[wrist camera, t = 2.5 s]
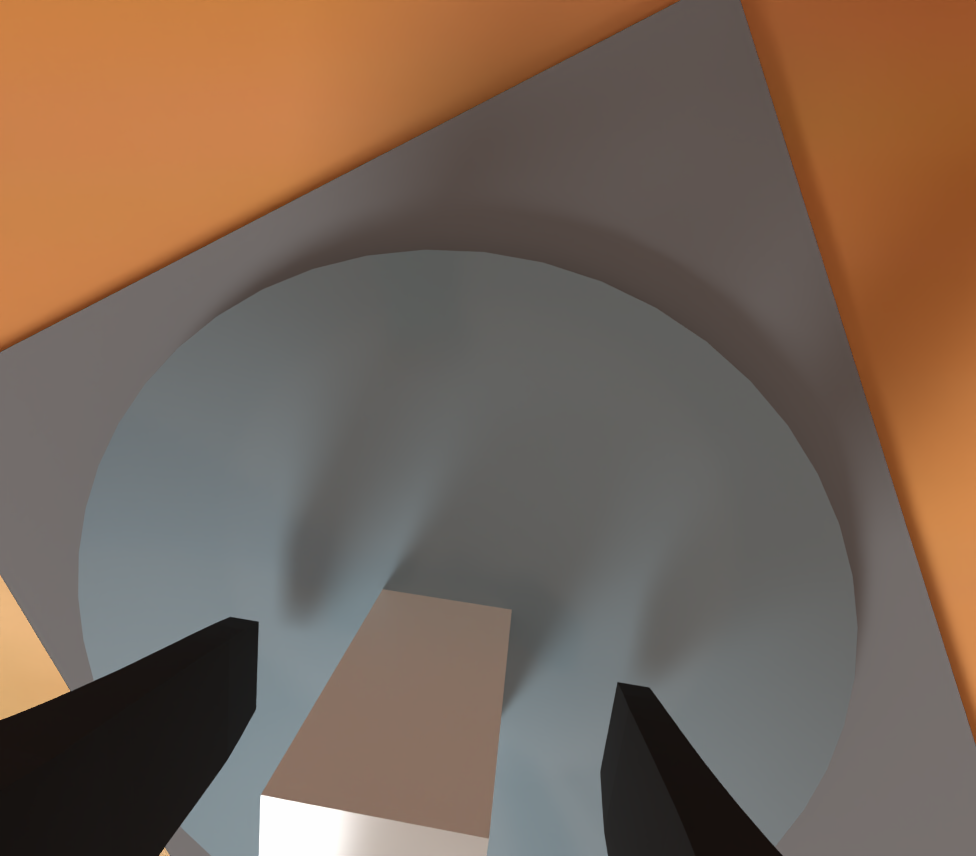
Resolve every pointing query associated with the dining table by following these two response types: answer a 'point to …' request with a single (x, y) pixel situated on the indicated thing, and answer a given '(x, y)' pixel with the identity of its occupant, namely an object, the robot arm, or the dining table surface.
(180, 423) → the lid
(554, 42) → the dining table surface
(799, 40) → the dining table surface
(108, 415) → the mat
